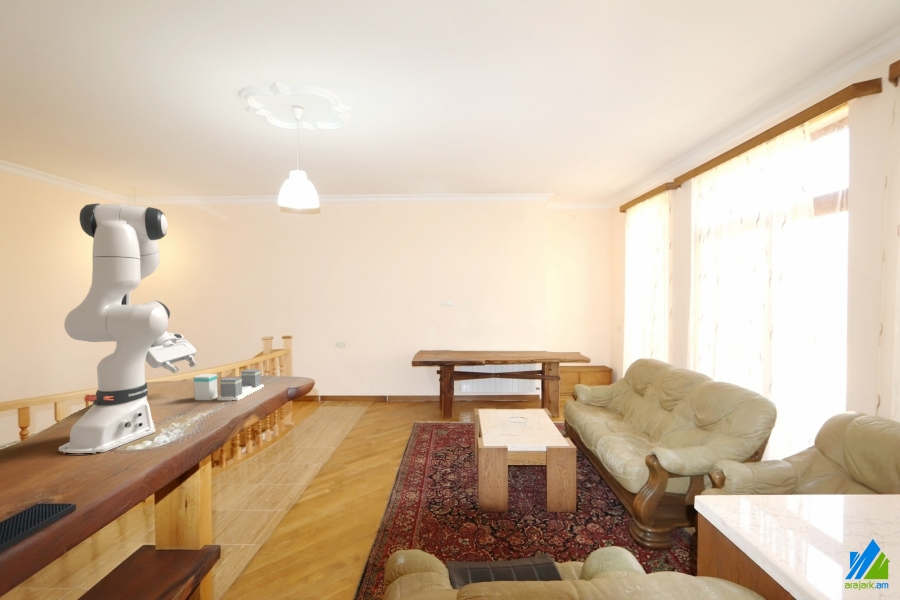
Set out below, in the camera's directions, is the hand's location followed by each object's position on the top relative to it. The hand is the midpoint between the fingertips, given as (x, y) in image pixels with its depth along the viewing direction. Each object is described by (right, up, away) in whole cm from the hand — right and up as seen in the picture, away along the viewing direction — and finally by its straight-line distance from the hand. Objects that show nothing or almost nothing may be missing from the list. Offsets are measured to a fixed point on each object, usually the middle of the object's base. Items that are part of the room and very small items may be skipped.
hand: (185, 368), depth 155 cm
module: (+8, -12, 0) cm, 14 cm away
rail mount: (+19, -11, +6) cm, 23 cm away
